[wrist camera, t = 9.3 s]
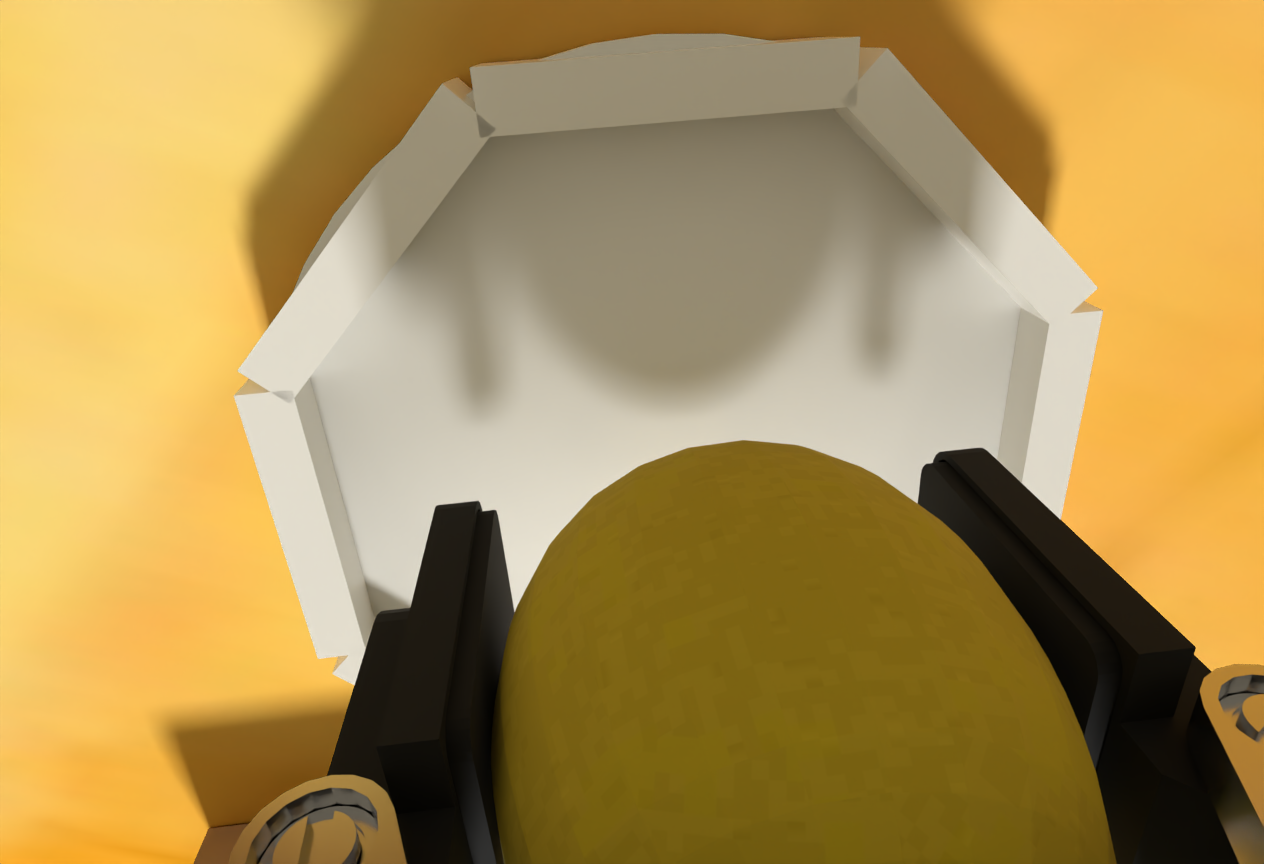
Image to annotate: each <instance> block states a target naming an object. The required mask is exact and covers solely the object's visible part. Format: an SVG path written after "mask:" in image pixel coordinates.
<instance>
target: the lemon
mask: <svg viewBox="0 0 1264 864" xmlns="http://www.w3.org/2000/svg"><path fill="white" fill-rule="evenodd" d="M491 772H492V785H493V798H494V804H495V811H496V817H497V824H498V830H499V836H500V842H501V848H502V853H503V859H504V864H1117V862H1116V858H1115V853H1114V849H1113V844H1112V840H1111V835H1110V830H1109V826H1108V821H1107V817H1106V813H1105V808H1104V804H1103V800H1102V795H1101V791H1100V787H1099V782H1098V778H1097V774H1096V771H1095V768H1094V765H1093V762H1092V759H1091V756H1090V753H1089V750H1088V747H1087V744H1086V741H1085V738H1084V736H1083V733H1082V730H1081V728H1080V725H1079V723H1078V721H1077V718H1076V716H1075V713H1074V711H1073V709H1072V706H1071V704H1070V702H1069V699H1068V697H1067V695H1066V692H1065V690H1064V688H1063V687H1062V685H1061V683H1060V681H1059V679H1058V677H1057V675H1056V673H1055V671H1054V669H1053V667H1052V665H1051V663H1050V661H1049V659H1048V657H1047V656H1046V654H1045V652H1044V651H1043V649H1042V647H1041V646H1040V644H1039V642H1038V641H1037V639H1036V637H1035V636H1034V634H1033V632H1032V631H1031V629H1030V628H1029V626H1028V625H1027V624H1026V622H1025V621H1024V620H1023V618H1022V617H1021V615H1020V614H1019V613H1018V611H1017V610H1016V609H1015V607H1014V606H1013V604H1012V603H1011V602H1010V600H1009V599H1008V597H1007V596H1006V595H1005V593H1004V592H1003V591H1002V589H1001V588H1000V586H999V585H998V584H997V582H996V581H995V580H994V578H993V577H992V575H991V574H990V573H989V571H988V570H987V569H986V567H985V566H984V564H983V563H982V562H981V560H980V559H979V558H978V557H977V556H976V555H975V554H974V552H973V551H972V550H971V549H970V548H969V547H968V546H967V545H966V544H965V542H964V541H963V540H962V539H961V538H960V537H959V536H958V535H956V534H955V533H954V532H953V531H952V530H951V529H950V528H949V527H948V526H946V525H945V524H944V523H943V522H942V521H941V520H939V519H938V518H937V517H935V516H934V515H933V514H931V513H930V512H928V511H927V510H926V509H924V508H923V507H921V506H920V505H919V504H917V503H916V502H914V501H913V500H912V499H910V498H909V497H907V496H906V495H905V494H903V493H902V492H900V491H899V490H898V489H896V488H895V487H893V486H892V485H891V484H889V483H888V482H886V481H885V480H883V479H882V478H881V477H879V476H878V475H876V474H874V473H872V472H870V471H868V470H866V469H864V468H862V467H860V466H857V465H855V464H852V463H849V462H846V461H843V460H841V459H838V458H835V457H832V456H830V455H827V454H824V453H821V452H818V451H816V450H813V449H810V448H806V447H803V446H799V445H793V444H782V443H771V442H760V441H749V440H740V441H733V442H726V443H719V444H712V445H704V446H697V447H690V448H686V449H683V450H681V451H678V452H675V453H672V454H670V455H667V456H664V457H662V458H659V459H656V460H654V461H651V462H648V463H645V464H643V465H640V466H638V467H637V468H635V469H634V470H632V471H631V472H629V473H628V474H626V475H624V476H623V477H621V478H620V479H618V480H617V481H615V482H614V483H612V484H611V485H609V486H608V487H606V488H605V489H603V490H602V491H600V492H599V493H597V494H596V495H594V496H593V497H592V498H591V499H590V500H589V501H588V502H587V503H586V504H585V506H584V507H583V508H582V509H581V510H580V511H579V512H578V513H577V514H576V515H575V516H574V517H573V518H572V520H571V521H570V522H569V523H568V524H567V525H566V526H565V527H564V528H563V529H562V530H561V531H560V532H559V534H558V535H557V536H556V537H555V539H554V540H553V541H552V542H551V543H550V545H549V546H548V548H547V550H546V552H545V554H544V556H543V558H542V560H541V561H540V563H539V565H538V567H537V569H536V571H535V573H534V575H533V577H532V578H531V580H530V582H529V584H528V586H527V588H526V590H525V592H524V594H523V596H522V598H521V600H520V602H519V604H518V605H517V607H516V610H515V613H514V616H513V619H512V622H511V625H510V628H509V632H508V636H507V641H506V646H505V650H504V655H503V660H502V666H501V671H500V677H499V682H498V687H497V693H496V698H495V704H494V714H493V724H492V740H491Z"/></svg>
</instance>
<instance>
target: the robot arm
mask: <svg viewBox="0 0 1264 864" xmlns="http://www.w3.org/2000/svg"><path fill="white" fill-rule="evenodd" d="M918 504H919V505H920V506H921V507H923V508H924V509H926V510H927V511H928V512H930V513H931V514H933V515H934V516H935V517H937V518H938V519H939V520H941V521H942V522H943V523H944V524H945V525H946V526H948V527H949V528H950V529H951V530H952V531H953V532H954V533H955V534H956V535H958V536H959V537H960V538H961V539H962V540H963V541H964V542H965V544H966V545H967V546H968V547H969V548H970V549H971V550H972V551H973V552H974V554H975V555H976V556H977V557H978V558H979V559H980V560H981V562H982V563H983V564H984V566H985V567H986V569H987V570H988V571H989V573H990V574H991V575H992V577H993V578H994V580H995V581H996V582H997V584H998V585H999V586H1000V588H1001V589H1002V591H1003V592H1004V593H1005V595H1006V596H1007V597H1008V599H1009V600H1010V602H1011V603H1012V604H1013V606H1014V607H1015V609H1016V610H1017V611H1018V613H1019V614H1020V615H1021V617H1022V618H1023V620H1024V621H1025V622H1026V624H1027V625H1028V626H1029V628H1030V629H1031V631H1032V632H1033V634H1034V636H1035V637H1036V639H1037V641H1038V642H1039V644H1040V646H1041V647H1042V649H1043V651H1044V652H1045V654H1046V656H1047V657H1048V659H1049V661H1050V663H1051V665H1052V667H1053V669H1054V671H1055V673H1056V675H1057V677H1058V679H1059V681H1060V683H1061V685H1062V687H1063V688H1064V690H1065V692H1066V695H1067V697H1068V699H1069V702H1070V704H1071V706H1072V709H1073V711H1074V713H1075V716H1076V718H1077V721H1078V723H1079V725H1080V728H1081V730H1082V733H1083V736H1084V738H1085V741H1086V744H1087V747H1088V750H1089V753H1090V756H1091V759H1092V762H1093V765H1094V768H1095V771H1096V774H1097V778H1098V782H1099V787H1100V791H1101V795H1102V800H1103V804H1104V808H1105V813H1106V817H1107V821H1108V826H1109V830H1110V835H1111V840H1112V844H1113V849H1114V853H1115V858H1116V862H1117V864H1264V666H1263V665H1251V664H1234V665H1229V666H1225V667H1221V668H1217V669H1215V670H1214V671H1212V672H1211V671H1210V670H1209V669H1208V668H1207V667H1206V666H1205V665H1204V664H1203V663H1202V662H1201V661H1200V660H1199V659H1198V658H1197V657H1196V656H1195V655H1194V652H1195V648H1196V647H1195V646H1194V645H1193V644H1192V643H1191V642H1190V641H1189V640H1187V639H1186V638H1185V637H1184V636H1183V635H1182V634H1181V633H1180V632H1179V631H1178V630H1177V629H1176V628H1175V627H1174V626H1173V625H1172V624H1171V623H1169V622H1168V621H1167V620H1166V619H1165V618H1164V617H1163V616H1162V615H1161V614H1160V613H1159V612H1158V611H1157V610H1156V609H1155V608H1154V607H1153V606H1151V605H1150V604H1149V603H1148V602H1147V601H1146V600H1145V599H1144V598H1143V597H1142V596H1141V595H1140V594H1139V593H1138V592H1137V591H1136V590H1134V589H1133V588H1132V587H1131V586H1130V585H1129V584H1128V583H1127V582H1126V581H1125V580H1124V579H1123V578H1122V577H1121V576H1120V575H1119V574H1118V573H1116V572H1115V571H1114V570H1113V569H1112V568H1111V567H1110V566H1109V565H1108V564H1107V563H1106V562H1105V561H1104V560H1103V559H1102V558H1101V557H1100V556H1098V555H1097V554H1096V553H1095V552H1094V551H1093V550H1092V549H1091V548H1090V547H1089V546H1088V545H1087V544H1086V543H1085V542H1084V541H1083V540H1081V539H1080V538H1079V537H1078V536H1077V535H1076V534H1075V533H1074V532H1073V531H1072V530H1071V529H1070V528H1069V527H1068V526H1067V525H1066V524H1065V523H1063V522H1062V521H1061V520H1060V519H1059V518H1058V517H1057V516H1056V515H1055V514H1054V513H1053V512H1052V511H1051V510H1050V509H1049V508H1048V507H1046V506H1045V505H1044V504H1043V503H1042V502H1041V501H1040V500H1039V499H1038V498H1037V497H1036V496H1035V495H1034V494H1033V493H1032V492H1031V491H1030V490H1028V489H1027V488H1026V487H1025V486H1024V485H1023V484H1022V483H1021V482H1020V481H1019V480H1018V479H1017V478H1016V477H1015V476H1014V475H1013V474H1012V473H1010V472H1009V471H1008V470H1007V469H1006V468H1005V467H1004V466H1003V465H1002V464H1001V463H1000V462H999V461H998V460H997V459H996V458H995V457H993V456H992V455H991V454H990V453H989V452H988V451H987V450H985V449H984V448H970V449H961V450H951V451H942V452H939V453H937V454H936V456H935V458H934V460H933V463H929V464H925V465H924V466H923V468H922V471H921V477H920V486H919V496H918ZM514 613H515V612H514V606H513V600H512V594H511V589H510V583H509V577H508V571H507V565H506V559H505V553H504V547H503V542H502V536H501V530H500V524H499V519H498V514H497V511H496V510H489V511H482V507H481V504H480V502H479V501H471V502H462V503H453V504H443V505H437V506H436V507H435V510H434V514H433V518H432V522H431V526H430V530H429V534H428V538H427V542H426V546H425V550H424V554H423V558H422V562H421V566H420V570H419V574H418V579H417V583H416V587H415V591H414V595H413V599H412V603H411V607H410V608H403V609H394V610H385V611H381V612H380V613H378V614H377V616H376V618H375V621H374V623H373V626H372V630H371V633H370V636H369V639H368V643H367V646H366V649H365V653H364V656H363V659H362V663H361V666H360V669H359V672H358V676H357V679H356V682H355V686H354V689H353V692H352V695H351V699H350V702H349V705H348V709H347V712H346V715H345V719H344V722H343V725H342V728H341V732H340V735H339V738H338V742H337V745H336V748H335V752H334V755H333V758H332V761H331V765H330V768H329V771H328V775H327V776H326V777H322V778H318V779H314V780H310V781H307V782H305V783H303V784H301V785H299V786H297V787H295V788H292V789H290V790H288V791H286V792H284V793H283V794H281V795H280V796H279V797H277V798H276V799H275V800H273V801H272V802H271V803H269V804H268V805H267V806H265V807H264V808H263V809H262V810H260V812H259V813H258V814H257V815H256V816H255V817H254V818H253V819H252V821H251V822H250V823H249V824H248V825H247V826H246V827H245V829H244V830H243V831H242V833H241V835H240V837H239V839H238V840H237V842H236V844H235V846H234V848H233V850H232V852H231V854H230V859H229V864H504V859H503V853H502V848H501V842H500V836H499V830H498V824H497V817H496V811H495V804H494V798H493V785H492V772H491V740H492V724H493V714H494V704H495V698H496V693H497V687H498V682H499V677H500V671H501V666H502V660H503V655H504V650H505V646H506V641H507V636H508V632H509V628H510V625H511V622H512V619H513V616H514Z"/></svg>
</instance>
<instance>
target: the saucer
mask: <svg viewBox="0 0 1264 864" xmlns="http://www.w3.org/2000/svg"><path fill="white" fill-rule="evenodd" d="M470 74H471V81H472V88H473V90H472V89H471V88H470V87H468V86H467V85H466V84H465V83H464V82H463V81H462V80H460V79H459V78H458V77H456V78H454V79H451V80H449V81H446V82H444V83H442V84H441V85H440V87H439V88H438V90H437V91H436V92H435V94H434V95H433V97H432V98H431V99H430V101H429V102H428V104H427V105H426V106H425V108H424V109H423V111H422V112H421V113H420V115H419V116H418V118H417V119H416V121H415V122H414V123H413V125H412V126H411V128H410V129H409V130H408V132H407V133H406V135H405V136H404V137H403V139H402V140H401V142H400V143H399V144H398V145H397V146H396V147H395V148H394V149H393V150H392V151H390V152H389V153H388V154H387V155H386V156H385V157H384V158H383V159H382V160H380V161H379V162H378V163H377V164H376V165H375V166H374V167H373V168H372V169H371V170H370V171H369V173H368V174H367V175H366V176H365V177H364V179H363V180H362V181H361V182H360V183H359V185H358V186H357V187H356V188H355V190H354V191H353V192H352V193H351V194H350V196H349V197H348V198H347V199H346V200H345V202H344V203H343V204H342V205H341V207H340V208H339V209H338V210H337V211H336V213H335V214H334V215H333V217H332V219H331V220H330V222H329V224H328V225H327V227H326V229H325V230H324V232H323V234H322V235H321V237H320V239H319V240H318V242H317V244H316V245H315V247H314V249H313V250H312V252H311V254H310V255H309V257H308V259H307V261H306V262H305V264H304V266H303V269H302V271H301V274H300V276H299V279H298V281H297V284H296V286H295V289H294V291H293V293H292V295H291V296H290V298H289V299H288V301H287V302H286V303H285V305H284V306H283V308H282V309H281V310H280V312H279V313H278V315H277V316H276V317H275V319H274V320H273V322H272V323H271V324H270V326H269V327H268V329H267V330H266V331H265V333H264V334H263V336H262V337H261V338H260V340H259V341H258V343H257V344H256V346H255V347H254V348H253V350H252V351H251V353H250V354H249V355H248V357H247V358H246V360H245V361H244V362H243V364H242V365H241V367H240V368H239V369H238V372H240V373H241V374H243V375H244V376H246V377H248V378H249V379H248V380H247V381H246V383H245V384H244V385H243V386H242V387H241V388H240V389H239V390H238V392H237V393H236V394H235V395H234V398H235V401H236V404H237V407H238V410H239V414H240V417H241V420H242V423H243V426H244V429H245V432H246V435H247V439H248V442H249V445H250V448H251V451H252V454H253V457H254V460H255V464H256V467H257V470H258V473H259V476H260V479H261V482H262V485H263V489H264V492H265V495H266V498H267V501H268V504H269V507H270V510H271V514H272V517H273V520H274V523H275V526H276V529H277V532H278V535H279V539H280V542H281V545H282V548H283V551H284V554H285V557H286V560H287V563H288V567H289V570H290V573H291V576H292V579H293V582H294V585H295V588H296V592H297V595H298V598H299V601H300V604H301V607H302V610H303V613H304V617H305V620H306V623H307V626H308V629H309V632H310V635H311V638H312V642H313V645H314V648H315V651H316V654H317V657H318V659H320V658H329V657H337V656H338V658H337V661H336V664H335V667H334V670H333V673H332V674H334V675H335V676H337V677H339V678H341V679H343V680H345V681H347V682H349V683H351V684H353V685H355V682H356V679H357V676H358V672H359V669H360V666H361V663H362V659H363V656H364V653H365V649H366V646H367V643H368V639H369V636H370V633H371V630H372V626H373V623H374V621H375V618H376V616H377V614H378V613H380V612H381V611H385V610H394V609H403V608H410V607H411V603H412V599H413V595H414V591H415V587H416V583H417V579H418V574H419V570H420V566H421V562H422V558H423V554H424V550H425V546H426V542H427V538H428V534H429V530H430V526H431V522H432V518H433V514H434V510H435V507H436V506H437V505H443V504H453V503H462V502H471V501H479V502H480V504H481V507H482V511H489V510H496V511H497V514H498V519H499V524H500V530H501V536H502V542H503V547H504V553H505V559H506V565H507V571H508V577H509V583H510V589H511V594H512V600H513V606H514V612H515V610H516V607H517V605H518V604H519V602H520V600H521V598H522V596H523V594H524V592H525V590H526V588H527V586H528V584H529V582H530V580H531V578H532V577H533V575H534V573H535V571H536V569H537V567H538V565H539V563H540V561H541V560H542V558H543V556H544V554H545V552H546V550H547V548H548V546H549V545H550V543H551V542H552V541H553V540H554V539H555V537H556V536H557V535H558V534H559V532H560V531H561V530H562V529H563V528H564V527H565V526H566V525H567V524H568V523H569V522H570V521H571V520H572V518H573V517H574V516H575V515H576V514H577V513H578V512H579V511H580V510H581V509H582V508H583V507H584V506H585V504H586V503H587V502H588V501H589V500H590V499H591V498H592V497H593V496H594V495H596V494H597V493H599V492H600V491H602V490H603V489H605V488H606V487H608V486H609V485H611V484H612V483H614V482H615V481H617V480H618V479H620V478H621V477H623V476H624V475H626V474H628V473H629V472H631V471H632V470H634V469H635V468H637V467H638V466H640V465H643V464H645V463H648V462H651V461H654V460H656V459H659V458H662V457H664V456H667V455H670V454H672V453H675V452H678V451H681V450H683V449H686V448H690V447H697V446H704V445H712V444H719V443H726V442H733V441H740V440H749V441H760V442H771V443H782V444H793V445H799V446H803V447H806V448H810V449H813V450H816V451H818V452H821V453H824V454H827V455H830V456H832V457H835V458H838V459H841V460H843V461H846V462H849V463H852V464H855V465H857V466H860V467H862V468H864V469H866V470H868V471H870V472H872V473H874V474H876V475H878V476H879V477H881V478H882V479H883V480H885V481H886V482H888V483H889V484H891V485H892V486H893V487H895V488H896V489H898V490H899V491H900V492H902V493H903V494H905V495H906V496H907V497H909V498H910V499H912V500H913V501H914V502H916V503H917V504H918V496H919V486H920V477H921V471H922V468H923V466H924V465H925V464H929V463H933V460H934V458H935V456H936V454H937V453H939V452H942V451H951V450H961V449H970V448H984V449H985V450H987V451H988V452H989V453H990V454H991V455H992V456H993V457H995V458H996V459H997V460H998V461H999V462H1000V463H1001V464H1002V465H1003V466H1004V467H1005V468H1006V469H1007V470H1008V471H1009V472H1010V473H1012V474H1013V475H1014V476H1015V477H1016V478H1017V479H1018V480H1019V481H1020V482H1021V483H1022V484H1023V485H1024V486H1025V487H1026V488H1027V489H1028V490H1030V491H1031V492H1032V493H1033V494H1034V495H1035V496H1036V497H1037V498H1038V499H1039V500H1040V501H1041V502H1042V503H1043V504H1044V505H1045V506H1046V507H1048V508H1049V509H1050V510H1051V511H1052V512H1053V513H1054V514H1055V515H1056V516H1057V517H1058V518H1059V519H1060V520H1061V515H1062V510H1063V505H1064V501H1065V496H1066V491H1067V486H1068V481H1069V476H1070V471H1071V466H1072V461H1073V456H1074V451H1075V447H1076V442H1077V437H1078V432H1079V427H1080V422H1081V417H1082V412H1083V407H1084V402H1085V397H1086V392H1087V388H1088V383H1089V378H1090V373H1091V368H1092V363H1093V358H1094V353H1095V348H1096V343H1097V338H1098V334H1099V329H1100V324H1101V319H1102V314H1103V310H1101V309H1099V308H1097V307H1095V306H1093V305H1091V304H1089V303H1087V302H1085V300H1086V299H1087V298H1088V297H1089V296H1090V295H1091V294H1092V293H1093V292H1094V291H1095V290H1096V289H1098V287H1097V286H1096V285H1095V284H1094V283H1093V282H1092V281H1091V279H1090V278H1089V277H1088V276H1087V275H1086V274H1085V273H1084V271H1083V270H1082V269H1081V268H1080V267H1079V266H1078V265H1077V263H1076V262H1075V261H1074V260H1073V259H1072V258H1071V257H1070V255H1069V254H1068V253H1067V252H1066V251H1065V250H1064V249H1063V248H1062V246H1061V245H1060V244H1059V243H1058V242H1057V241H1056V240H1055V238H1054V237H1053V236H1052V235H1051V234H1050V233H1049V232H1048V230H1047V229H1046V228H1045V227H1044V226H1043V225H1042V224H1041V222H1040V221H1039V220H1038V219H1037V218H1036V217H1035V216H1034V214H1033V213H1032V212H1031V211H1030V210H1029V209H1028V208H1027V206H1026V205H1025V204H1024V203H1023V202H1022V201H1021V200H1020V198H1019V197H1018V196H1017V195H1016V194H1015V193H1014V192H1013V190H1012V189H1011V188H1010V187H1009V186H1008V185H1007V184H1006V182H1005V181H1004V180H1003V179H1002V178H1001V177H1000V176H999V174H998V173H997V172H996V171H995V170H994V169H993V168H992V166H991V165H990V164H989V163H988V162H987V161H986V160H985V158H984V157H983V156H982V155H981V154H980V153H979V152H978V151H977V149H976V148H975V147H974V146H973V145H972V144H971V143H970V141H969V140H968V139H967V138H966V137H965V136H964V135H963V133H962V132H961V131H960V130H959V129H958V128H957V127H956V125H955V124H954V123H953V122H952V121H951V120H950V119H949V117H948V116H947V115H946V114H945V113H944V112H943V111H942V109H941V108H940V107H939V106H938V105H937V104H936V103H935V101H934V100H933V99H932V98H931V97H930V96H929V95H928V93H927V92H926V91H925V90H924V89H923V88H922V87H921V85H920V84H919V83H918V82H917V81H916V80H915V79H914V77H913V76H912V75H911V74H910V73H909V72H908V71H907V69H906V68H905V67H904V66H903V65H902V64H901V63H900V61H899V60H898V59H897V58H896V57H895V56H894V55H893V53H892V52H891V51H890V50H889V49H888V48H870V47H860V37H812V38H799V39H786V40H774V41H770V40H763V39H756V38H749V37H742V36H736V35H729V34H649V35H643V36H636V37H630V38H623V39H616V40H610V41H603V42H597V43H590V44H587V45H584V46H580V47H577V48H574V49H570V50H567V51H564V52H561V53H557V54H554V55H551V56H547V57H544V58H541V59H531V60H518V61H505V62H493V63H481V64H478V65H475V66H472V67H470Z"/></svg>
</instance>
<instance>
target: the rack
mask: <svg viewBox="0 0 1264 864" xmlns="http://www.w3.org/2000/svg"><path fill="white" fill-rule="evenodd" d="M247 825H248V824H241V825H233V826H225V827H217V828H209V829H208V831H207V834H206V836H205V838H204V841H203V843H202V845H201V847H200V850H199V852H198V854H197V857H196V859H195V861H194V864H229V859H230V854H231V852H232V850H233V848H234V846H235V844H236V842H237V840H238V839H239V837H240V835H241V833H242V831H243V830H244V829H245V827H246V826H247Z"/></svg>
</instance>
